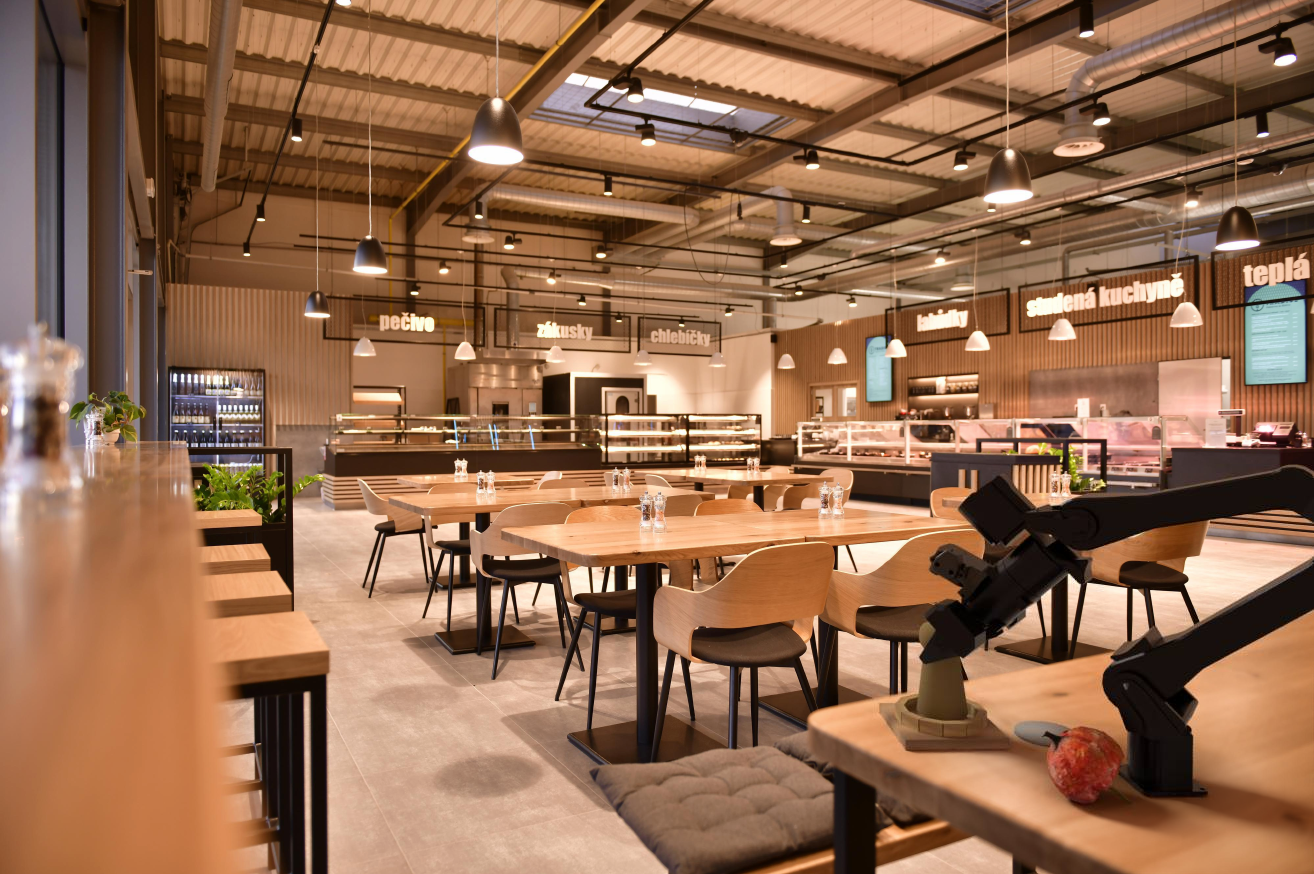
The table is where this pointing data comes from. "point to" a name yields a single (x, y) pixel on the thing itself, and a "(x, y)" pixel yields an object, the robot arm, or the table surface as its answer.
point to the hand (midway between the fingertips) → (930, 655)
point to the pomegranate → (1083, 763)
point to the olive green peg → (941, 685)
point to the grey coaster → (1038, 731)
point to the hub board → (942, 742)
